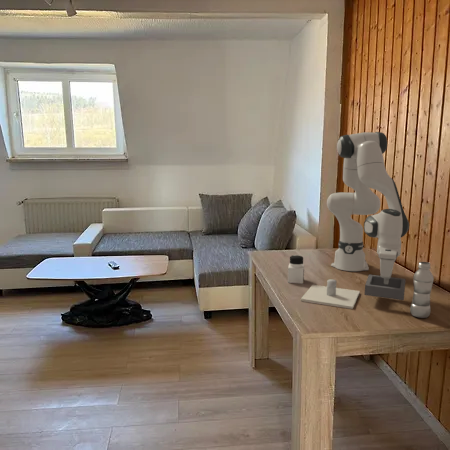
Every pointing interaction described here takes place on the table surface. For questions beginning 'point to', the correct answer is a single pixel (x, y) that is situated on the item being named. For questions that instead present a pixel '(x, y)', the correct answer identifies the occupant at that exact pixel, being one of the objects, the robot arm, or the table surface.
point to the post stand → (331, 295)
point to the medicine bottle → (296, 269)
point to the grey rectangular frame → (385, 287)
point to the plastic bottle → (422, 291)
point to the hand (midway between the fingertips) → (386, 282)
